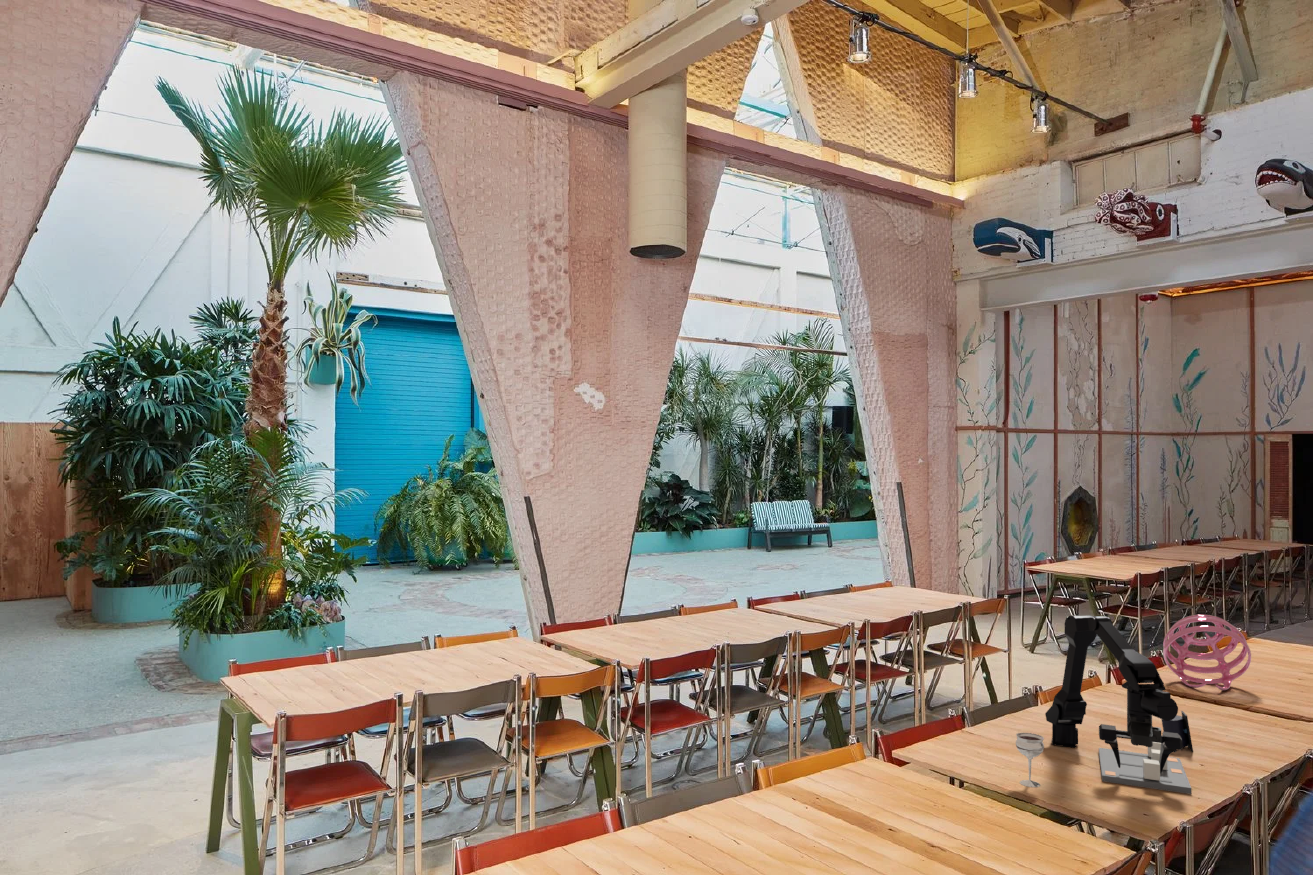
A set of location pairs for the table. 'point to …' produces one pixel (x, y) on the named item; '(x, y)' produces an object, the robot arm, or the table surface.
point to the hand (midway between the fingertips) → (1139, 770)
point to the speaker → (1179, 729)
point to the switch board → (1133, 771)
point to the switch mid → (1157, 757)
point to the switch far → (1155, 746)
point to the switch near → (1151, 769)
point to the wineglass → (1029, 751)
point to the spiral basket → (1216, 654)
